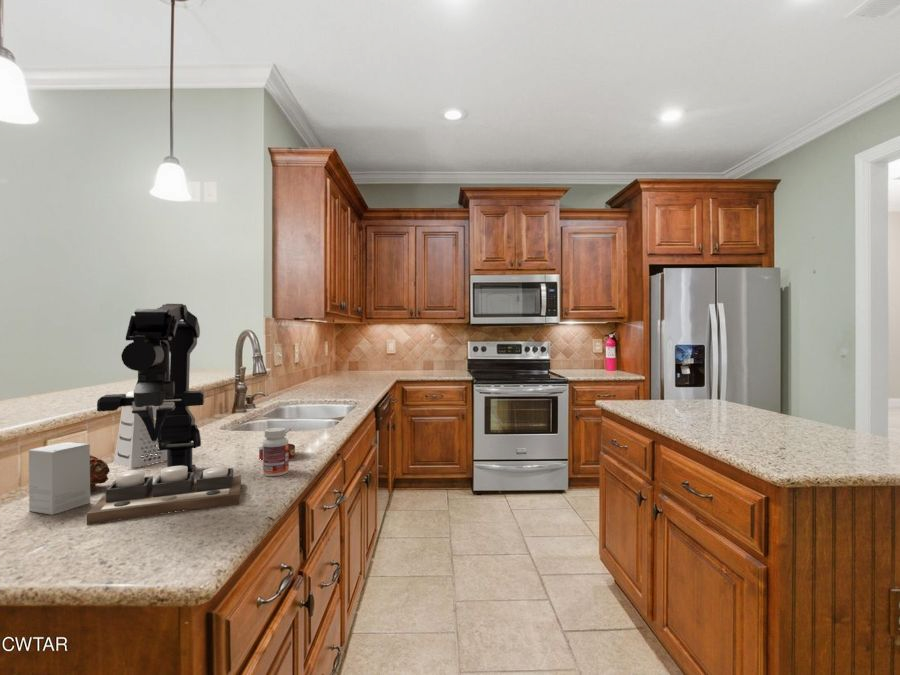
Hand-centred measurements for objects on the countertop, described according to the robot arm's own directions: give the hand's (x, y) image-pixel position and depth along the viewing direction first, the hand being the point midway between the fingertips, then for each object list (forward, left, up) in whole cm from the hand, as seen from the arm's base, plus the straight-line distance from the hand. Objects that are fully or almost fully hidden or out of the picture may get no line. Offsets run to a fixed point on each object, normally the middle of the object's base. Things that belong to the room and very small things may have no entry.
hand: (154, 440), depth 98 cm
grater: (-38, -9, -13) cm, 41 cm away
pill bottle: (-11, +25, -13) cm, 30 cm away
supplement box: (-4, -17, -13) cm, 22 cm away
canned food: (-28, +26, -13) cm, 40 cm away
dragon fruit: (-15, -17, -13) cm, 27 cm away
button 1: (0, -4, -9) cm, 10 cm away
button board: (+2, +4, -13) cm, 14 cm away
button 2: (0, +12, -10) cm, 15 cm away
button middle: (0, +4, -9) cm, 10 cm away
